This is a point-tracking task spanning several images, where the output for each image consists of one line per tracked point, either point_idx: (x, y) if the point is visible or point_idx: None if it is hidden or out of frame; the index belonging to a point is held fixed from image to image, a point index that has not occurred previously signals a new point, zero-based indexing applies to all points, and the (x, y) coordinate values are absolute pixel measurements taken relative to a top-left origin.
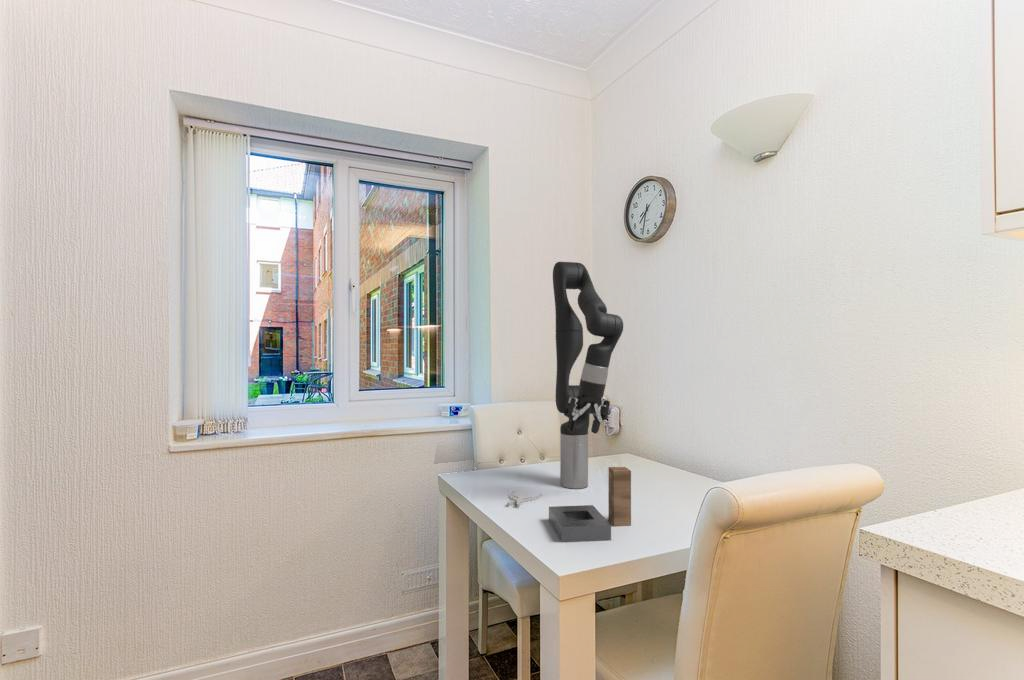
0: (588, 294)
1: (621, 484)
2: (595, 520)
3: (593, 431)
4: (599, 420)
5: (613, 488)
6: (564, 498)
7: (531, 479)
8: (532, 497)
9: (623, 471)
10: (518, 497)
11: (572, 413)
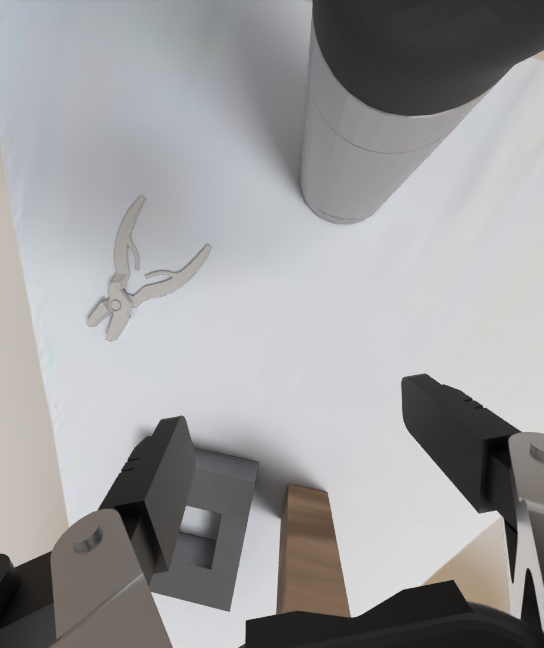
0: None
1: None
2: (209, 576)
3: (408, 406)
4: (515, 534)
5: (277, 603)
6: (258, 300)
7: (237, 71)
8: (172, 275)
9: None
10: (136, 264)
11: (85, 604)
